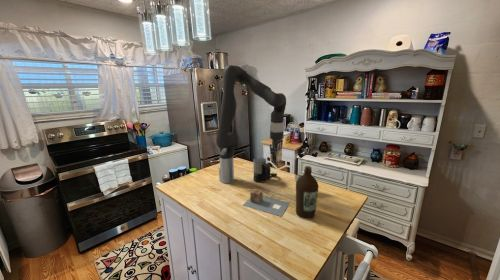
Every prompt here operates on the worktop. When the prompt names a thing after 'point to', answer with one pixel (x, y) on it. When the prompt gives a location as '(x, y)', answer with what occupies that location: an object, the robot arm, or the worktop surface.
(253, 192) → the walnut block
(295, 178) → the food container
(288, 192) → the worktop surface
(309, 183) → the olive oil
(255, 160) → the milk frother
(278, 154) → the maple block
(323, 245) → the worktop surface
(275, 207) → the mat
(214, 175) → the worktop surface
